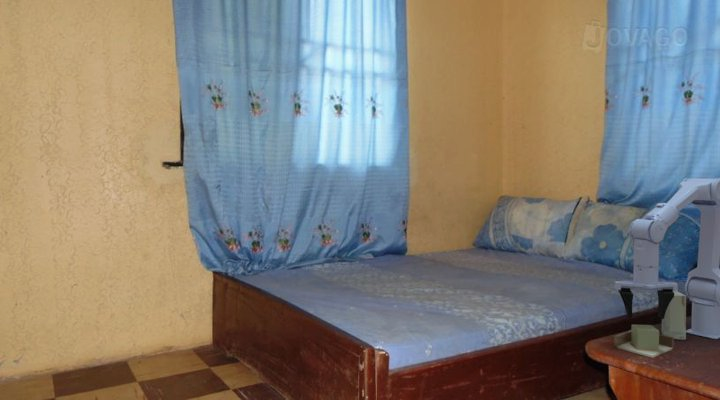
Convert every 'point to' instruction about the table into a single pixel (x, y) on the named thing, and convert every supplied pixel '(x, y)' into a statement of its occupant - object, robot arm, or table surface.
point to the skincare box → (675, 317)
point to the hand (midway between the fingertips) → (645, 317)
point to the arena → (625, 343)
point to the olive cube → (645, 337)
